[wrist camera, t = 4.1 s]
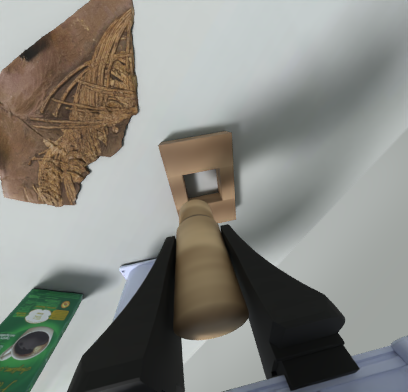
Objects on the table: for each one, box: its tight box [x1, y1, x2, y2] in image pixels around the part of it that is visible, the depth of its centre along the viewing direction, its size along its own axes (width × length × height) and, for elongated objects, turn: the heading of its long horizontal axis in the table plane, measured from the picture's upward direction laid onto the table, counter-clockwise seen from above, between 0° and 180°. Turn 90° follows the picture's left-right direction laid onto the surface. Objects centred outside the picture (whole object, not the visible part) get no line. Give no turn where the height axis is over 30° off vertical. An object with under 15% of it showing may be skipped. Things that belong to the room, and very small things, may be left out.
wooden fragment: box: [0, 0, 138, 207], centre depth 15 cm, size 26×11×1 cm, turn 133°
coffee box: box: [0, 289, 83, 392], centre depth 21 cm, size 8×3×13 cm, turn 63°
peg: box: [173, 199, 249, 340], centre depth 11 cm, size 4×4×9 cm
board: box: [158, 131, 236, 223], centre depth 19 cm, size 12×8×2 cm, turn 8°
